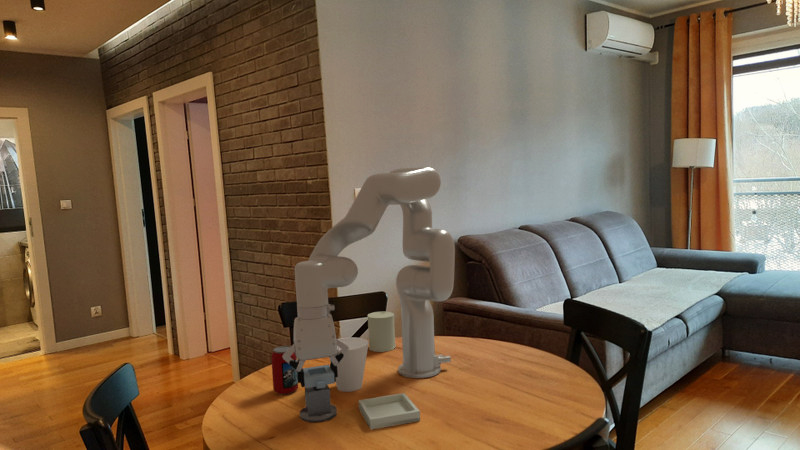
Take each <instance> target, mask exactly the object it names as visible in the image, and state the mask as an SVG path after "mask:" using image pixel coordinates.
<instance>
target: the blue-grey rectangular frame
mask: <svg viewBox="0 0 800 450" xmlns="http://www.w3.org/2000/svg"><path fill="white" fill-rule="evenodd" d="M302 368H303V367H302ZM303 371H304V385H305V386H304V389H305V388H309V387H315V386H316V387H317V389H319V388H325V385H328V386H329V385H333V384H336V382H335V381H334V373H333V371H332V370H331V368H330V364H326V365H325V364H324V365H319V366H318V365H317V366H311V367H304V368H303ZM313 374H316V375H313Z"/></svg>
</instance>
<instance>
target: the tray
mask: <svg viewBox="0 0 800 450" xmlns="http://www.w3.org/2000/svg"><path fill="white" fill-rule="evenodd" d="M358 410H359V413H360V414H361V416H362V417H363V419H364V420H365V422H366V424H367V426H368V428H369V429H370V430H375V429H376V430H377V429H382V428H387V427H394V426H399V425H405V424H410V423H417V422H421V411H420V409H419V408H418V407H417V406H416V405H415V403H414V402H413V401H412V400H411V398H409V396H408V395H407V394H406V393H405V392H403V393H401V392H400V393H395V394H388V395H384V396H383V395H382V396H377V397H371V398H365V399H359V400H358Z"/></svg>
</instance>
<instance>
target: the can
mask: <svg viewBox="0 0 800 450" xmlns="http://www.w3.org/2000/svg"><path fill="white" fill-rule="evenodd" d="M367 327H368V342H369V344H368V350H369V351H372V352H375V353H385V351H386V352H391V351H394V350H395V349H396V348H397V347H396V346H397V345H396V336H395V335H396V334H395V333H396V332H395V314H394V312H391V311H374V312H371V313H368V314H367ZM395 347H396V348H395ZM394 348H395V349H394ZM390 350H391V351H390Z"/></svg>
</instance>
